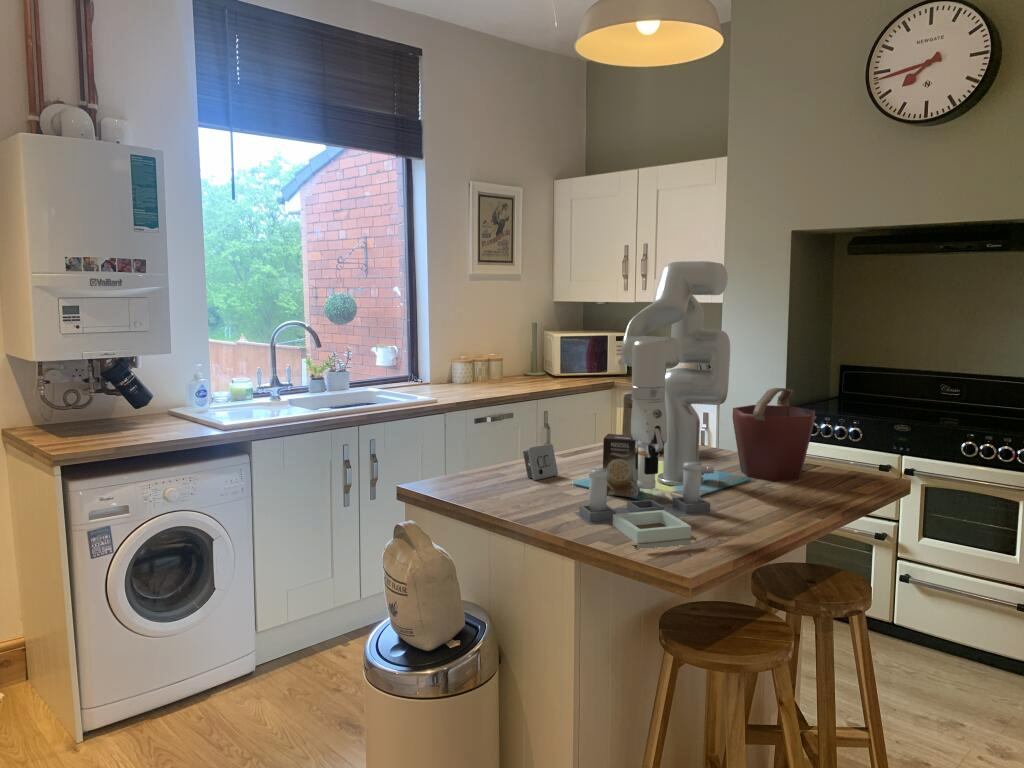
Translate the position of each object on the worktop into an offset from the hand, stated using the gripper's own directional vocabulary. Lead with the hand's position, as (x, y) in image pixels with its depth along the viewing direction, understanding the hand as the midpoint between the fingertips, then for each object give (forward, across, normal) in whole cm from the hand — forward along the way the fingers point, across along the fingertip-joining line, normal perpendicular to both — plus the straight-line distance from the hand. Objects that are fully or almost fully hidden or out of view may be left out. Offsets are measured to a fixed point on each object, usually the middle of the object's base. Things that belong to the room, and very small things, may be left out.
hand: (646, 470), depth 181 cm
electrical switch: (+12, +45, +11) cm, 48 cm away
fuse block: (+11, 0, 0) cm, 11 cm away
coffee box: (+12, +18, -2) cm, 21 cm away
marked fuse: (+4, 0, 0) cm, 4 cm away
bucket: (+13, +29, -55) cm, 63 cm away
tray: (+11, -13, +5) cm, 18 cm away
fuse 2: (+10, 0, -12) cm, 15 cm away
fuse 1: (+10, 0, +12) cm, 16 cm away
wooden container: (+13, +70, -34) cm, 78 cm away
